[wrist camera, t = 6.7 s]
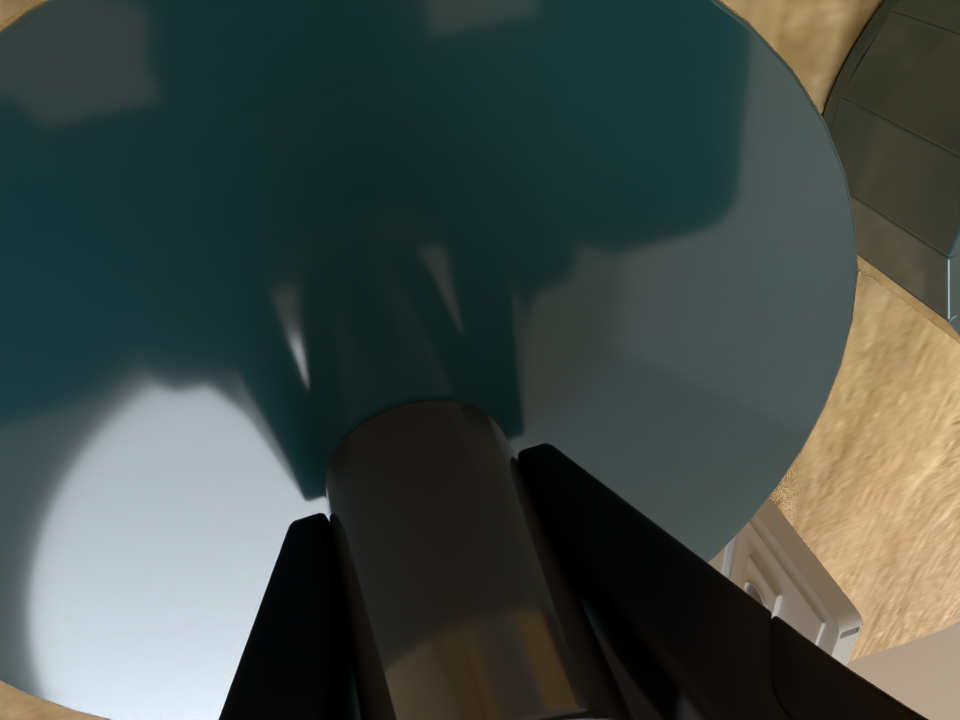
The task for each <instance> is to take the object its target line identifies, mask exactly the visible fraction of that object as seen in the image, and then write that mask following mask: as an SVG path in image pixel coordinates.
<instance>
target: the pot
mask: <svg viewBox="0 0 960 720" xmlns="http://www.w3.org/2000/svg"><path fill="white" fill-rule="evenodd" d="M823 119H824V121H825V123H826V126H827V128H828V131H829V133H830V136H831V138H832V141H833V144H834V146H835V149H836V151H837V154H838V156H839V159H840V161H841V164H842V166H843V169H844V171H845V174H846V179H847V184H848V189H849V194H850V199H851V203H852V208H853V213H854V218H855V223H856V244H857V266H858V267H859V268H861V269H862V270H863V271H865V272H866V273H867V274H869V275H870V276H871V277H873V278H874V279H875V280H877V281H878V282H879V283H880V284H882V285H883V286H884V287H886V288H887V289H888V290H890V291H891V292H892V293H894V294H895V295H896V296H898V297H899V298H900V299H902V300H903V301H904V302H906V303H907V304H908V305H909V306H911V307H912V308H913V309H915V310H916V311H917V312H919V313H920V314H921V315H923V316H924V317H925V318H927V319H928V320H929V321H931V322H932V323H933V324H935V325H936V326H937V327H938V328H940V329H941V330H942V331H944V332H945V333H946V334H948V335H949V336H950V337H952V338H953V339H954V340H956V341H957V342H958V343H960V0H885V1H884V3H883V4H882V5H881V7H880V8H879V9H878V11H877V12H876V13H875V15H874V16H873V17H872V19H871V20H870V21H869V23H868V25H867V26H866V28H865V29H864V31H863V33H862V34H861V36H860V37H859V39H858V41H857V42H856V44H855V45H854V47H853V48H852V50H851V52H850V54H849V56H848V58H847V60H846V62H845V64H844V66H843V68H842V70H841V72H840V73H839V75H838V77H837V80H836V82H835V85H834V87H833V90H832V92H831V94H830V97H829V99H828V102H827V104H826V108H825V111H824V114H823Z"/></svg>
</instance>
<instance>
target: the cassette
mask: <svg viewBox="0 0 960 720" xmlns="http://www.w3.org/2000/svg"><path fill="white" fill-rule="evenodd" d="M708 564H710V565H711V566H712V567H714V568H715V569H716V570H717V571H719V572H720V573H721V574H723V575H724V576H725V577H727V578H728V579H729V580H731V581H732V582H733V583H735V584H736V585H737V586H739V587H740V588H741V589H742V590H744V591H745V592H746V593H748V594H749V595H750V596H752V597H753V598H754V599H756V600H757V601H758V602H760V603H761V604H762V605H764V606H765V607H766V608H767V609H769V610H770V611H771V613H772V618H773V617H774V616H778V617H780V618H781V619H782V620H784V621H785V622H786V623H788V624H789V625H790V626H792V627H793V628H794V629H795V630H797V631H798V632H799V633H801V634H802V635H803V636H805V637H806V638H807V639H809V640H810V641H811V642H813V643H814V644H816V645H817V646H818V647H820V648H821V649H822V650H824V651H825V652H827V653H828V654H829V655H831V656H832V657H834V658H835V659H836V660H838V661H839V662H841V663H842V664H843V665H845V666H846V665H847V663H848V660H849V658H850V655H851V653H852V650H853V648H854V645H855V643H856V640H857V638H858V635H859V633H860V631H861V628H862V626H863V620H862V617H861V615H860V614H859V612H858V611H857V609H856V608H855V607H854V605H853V604H852V603H851V601H850V600H849V599H848V598H847V596H846V595H845V594H844V592H843V591H842V590H841V589H840V587H839V586H838V585H837V583H836V582H835V581H834V580H833V578H832V577H831V576H830V574H829V573H828V572H827V571H826V569H825V568H824V567H823V565H822V564H821V563H820V562H819V560H818V559H817V558H816V556H815V555H814V554H813V553H812V551H811V550H810V549H809V547H808V546H807V545H806V544H805V542H804V541H803V540H802V538H801V537H800V536H799V535H798V533H797V532H796V531H795V529H794V528H793V527H792V525H791V524H790V523H789V522H788V520H787V519H786V518H785V516H784V515H783V514H782V513H781V511H780V510H779V509H778V507H777V506H776V505H775V504H774V502H773V501H772V500H771V498H770V497H769V498H768V499H767V500H766V502H765V503H764V504H763V505H762V507H761V508H760V509H759V510H758V511H757V513H756V514H755V515H754V516H753V518H752V519H751V520H750V521H749V522H748V523H747V524H746V525H745V526H744V527H743V528H742V530H741V531H740V532H739V533H738V534H737V535H736V536H735V537H734V538H733V539H732V540H731V541H730V542H729V543H728V544H727V545H726V546H725V547H724V548H723V549H722V551H721V552H719V553H718V554H717V555H716V556H715V557H714V558H713V559H712V560H710V561H709V562H708Z"/></svg>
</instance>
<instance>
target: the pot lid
mask: <svg viewBox="0 0 960 720" xmlns="http://www.w3.org/2000/svg"><path fill="white" fill-rule="evenodd" d="M857 274H858V270H857V244H856V223H855V218H854V213H853V208H852V203H851V199H850V194H849V189H848V184H847V179H846V174H845V171H844V169H843V166H842V164H841V161H840V159H839V156H838V154H837V151H836V149H835V146H834V144H833V141H832V138H831V136H830V133H829V131H828V128H827V126H826V123H825V121H824V119H823V117H822V116H821V114H820V112H819V111H818V109H817V108H816V106H815V104H814V103H813V101H812V100H811V98H810V97H809V95H808V93H807V92H806V90H805V89H804V87H803V85H802V84H801V82H800V81H799V79H798V77H797V76H796V74H795V73H794V71H793V70H792V68H791V67H790V66H789V65H788V64H787V63H786V62H785V61H784V60H783V58H782V57H781V56H780V55H779V54H778V53H777V52H776V51H775V50H774V49H773V48H772V47H771V45H770V44H769V43H768V42H767V41H766V40H765V39H764V38H763V37H762V36H761V35H760V34H759V33H758V31H757V30H756V29H755V28H754V27H753V26H752V25H751V24H750V23H749V22H748V21H747V20H746V19H745V18H743V17H742V16H741V15H739V14H738V13H737V12H735V11H734V10H733V9H731V8H730V7H729V6H727V5H726V4H725V3H723V2H722V1H721V0H33V1H32V2H31V3H29V4H28V5H27V6H25V7H24V8H23V9H21V10H20V11H19V12H17V13H16V14H15V15H14V16H12V17H11V18H10V19H8V20H7V21H6V22H4V23H3V24H2V25H1V26H0V681H1V682H3V683H5V684H7V685H9V686H11V687H13V688H15V689H17V690H19V691H21V692H24V693H26V694H29V695H32V696H34V697H37V698H40V699H43V700H45V701H48V702H51V703H54V704H56V705H59V706H62V707H65V708H67V709H70V710H73V711H77V712H81V713H85V714H89V715H93V716H97V717H101V718H105V719H108V720H219V717H220V714H221V711H222V709H223V706H224V703H225V700H226V698H227V695H228V692H229V689H230V687H231V684H232V681H233V678H234V676H235V673H236V670H237V667H238V665H239V662H240V659H241V656H242V654H243V651H244V648H245V645H246V643H247V640H248V637H249V635H250V632H251V629H252V626H253V624H254V621H255V618H256V615H257V613H258V610H259V607H260V604H261V602H262V599H263V596H264V593H265V591H266V588H267V585H268V582H269V580H270V577H271V574H272V571H273V569H274V566H275V563H276V561H277V558H278V555H279V552H280V550H281V547H282V544H283V541H284V539H285V536H286V533H287V530H288V528H289V526H290V524H291V523H292V522H293V521H295V520H298V519H301V518H304V517H307V516H311V515H314V514H317V513H323V514H325V515H326V516H327V518H328V520H329V522H330V528H331V534H332V540H333V547H334V553H335V559H336V566H337V572H338V578H339V585H340V591H341V597H342V604H343V610H344V616H345V622H346V629H347V635H348V641H349V648H350V654H351V660H352V667H353V673H354V679H355V686H356V692H357V698H358V705H359V711H360V717H361V720H634V718H633V716H632V714H631V711H630V709H629V707H628V705H627V703H626V700H625V698H624V696H623V694H622V691H621V689H620V687H619V685H618V682H617V680H616V678H615V676H614V674H613V671H612V669H611V667H610V665H609V662H608V660H607V658H606V656H605V654H604V651H603V649H602V647H601V645H600V642H599V640H598V638H597V636H596V633H595V631H594V629H593V627H592V625H591V622H590V620H589V618H588V616H587V613H586V611H585V609H584V607H583V604H582V602H581V600H580V598H579V596H578V593H577V591H576V589H575V587H574V584H573V582H572V580H571V578H570V576H569V573H568V571H567V569H566V567H565V564H564V562H563V560H562V558H561V555H560V553H559V551H558V549H557V547H556V545H555V542H554V540H553V538H552V536H551V534H550V531H549V529H548V527H547V525H546V522H545V520H544V518H543V516H542V514H541V511H540V509H539V507H538V505H537V502H536V500H535V498H534V496H533V493H532V491H531V489H530V487H529V485H528V482H527V480H526V478H525V476H524V473H523V471H522V469H521V467H520V465H519V462H518V453H519V452H520V451H521V450H524V449H527V448H530V447H533V446H536V445H540V444H543V443H548V444H551V445H553V446H554V447H556V448H557V449H558V450H560V451H561V452H562V453H563V454H565V455H566V456H567V457H569V458H570V459H571V460H573V461H574V462H575V463H577V464H578V465H579V466H581V467H582V468H583V469H585V470H586V471H587V472H588V473H590V474H591V475H592V476H594V477H595V478H596V479H598V480H599V481H600V482H602V483H603V484H604V485H606V486H607V487H608V488H610V489H611V490H612V491H613V492H615V493H616V494H617V495H619V496H620V497H621V498H623V499H624V500H625V501H627V502H628V503H629V504H631V505H632V506H633V507H635V508H636V509H637V510H638V511H640V512H641V513H642V514H644V515H645V516H646V517H648V518H649V519H650V520H652V521H653V522H654V523H656V524H657V525H658V526H660V527H661V528H662V529H664V530H665V531H666V532H667V533H669V534H670V535H671V536H673V537H674V538H675V539H677V540H678V541H679V542H681V543H682V544H683V545H685V546H686V547H687V548H689V549H690V550H691V551H692V552H694V553H695V554H696V555H698V556H699V557H700V558H702V559H703V560H704V561H706V562H707V563H708V562H709V561H710V560H712V559H713V558H714V557H715V556H716V555H717V554H718V553H719V552H721V551H722V549H723V548H724V547H725V546H726V545H727V544H728V543H729V542H730V541H731V540H732V539H733V538H734V537H735V536H736V535H737V534H738V533H739V532H740V531H741V530H742V528H743V527H744V526H745V525H746V524H747V523H748V522H749V521H750V520H751V519H752V518H753V516H754V515H755V514H756V513H757V511H758V510H759V509H760V508H761V507H762V505H763V504H764V503H765V502H766V500H767V499H768V498H769V497H770V495H771V494H772V493H773V492H774V490H775V489H776V488H777V487H778V485H779V484H780V482H781V481H782V479H783V478H784V476H785V475H786V473H787V472H788V470H789V469H790V467H791V466H792V464H793V463H794V461H795V460H796V458H797V457H798V455H799V454H800V452H801V451H802V449H803V448H804V446H805V444H806V442H807V440H808V438H809V436H810V434H811V432H812V430H813V429H814V427H815V425H816V423H817V421H818V419H819V417H820V415H821V413H822V411H823V410H824V407H825V405H826V402H827V400H828V397H829V395H830V392H831V390H832V387H833V384H834V382H835V379H836V377H837V374H838V372H839V369H840V366H841V363H842V359H843V355H844V351H845V347H846V343H847V339H848V335H849V332H850V328H851V324H852V319H853V310H854V301H855V292H856V283H857Z"/></svg>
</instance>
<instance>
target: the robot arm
mask: <svg viewBox="0 0 960 720" xmlns="http://www.w3.org/2000/svg"><path fill="white" fill-rule="evenodd" d="M518 462H519V465H520V467H521V469H522V471H523V473H524V476H525V478H526V480H527V482H528V485H529V487H530V489H531V491H532V493H533V496H534V498H535V500H536V502H537V505H538V507H539V509H540V511H541V514H542V516H543V518H544V520H545V522H546V525H547V527H548V529H549V531H550V534H551V536H552V538H553V540H554V542H555V545H556V547H557V549H558V551H559V553H560V555H561V558H562V560H563V562H564V564H565V567H566V569H567V571H568V573H569V576H570V578H571V580H572V582H573V584H574V587H575V589H576V591H577V593H578V596H579V598H580V600H581V602H582V604H583V607H584V609H585V611H586V613H587V616H588V618H589V620H590V622H591V625H592V627H593V629H594V631H595V633H596V636H597V638H598V640H599V642H600V645H601V647H602V649H603V651H604V654H605V656H606V658H607V660H608V662H609V665H610V667H611V669H612V671H613V674H614V676H615V678H616V680H617V682H618V685H619V687H620V689H621V691H622V694H623V696H624V698H625V700H626V703H627V705H628V707H629V709H630V711H631V714H632V716H633V718H634V720H928V719H927V718H925V717H923V716H922V715H920V714H919V713H917V712H915V711H914V710H912V709H910V708H909V707H907V706H905V705H904V704H902V703H901V702H899V701H898V700H896V699H895V698H893V697H892V696H890V695H889V694H887V693H886V692H884V691H882V690H881V689H879V688H878V687H876V686H875V685H873V684H872V683H870V682H868V681H867V680H865V679H864V678H862V677H861V676H859V675H858V674H856V673H855V672H853V671H851V670H850V669H849V668H847V667H846V666H845V665H843V664H842V663H841V662H839V661H838V660H836V659H835V658H834V657H832V656H831V655H829V654H828V653H827V652H825V651H824V650H822V649H821V648H820V647H818V646H817V645H816V644H814V643H813V642H811V641H810V640H809V639H807V638H806V637H805V636H803V635H802V634H801V633H799V632H798V631H797V630H795V629H794V628H793V627H792V626H790V625H789V624H788V623H786V622H785V621H784V620H782V619H781V618H780V617H778V616H774V617H773V618H772V613H771V611H770V610H769V609H767V608H766V607H765V606H764V605H762V604H761V603H760V602H758V601H757V600H756V599H754V598H753V597H752V596H750V595H749V594H748V593H746V592H745V591H744V590H742V589H741V588H740V587H739V586H737V585H736V584H735V583H733V582H732V581H731V580H729V579H728V578H727V577H725V576H724V575H723V574H721V573H720V572H719V571H717V570H716V569H715V568H714V567H712V566H711V565H710V564H708V563H707V562H706V561H704V560H703V559H702V558H700V557H699V556H698V555H696V554H695V553H694V552H692V551H691V550H690V549H689V548H687V547H686V546H685V545H683V544H682V543H681V542H679V541H678V540H677V539H675V538H674V537H673V536H671V535H670V534H669V533H667V532H666V531H665V530H664V529H662V528H661V527H660V526H658V525H657V524H656V523H654V522H653V521H652V520H650V519H649V518H648V517H646V516H645V515H644V514H642V513H641V512H640V511H638V510H637V509H636V508H635V507H633V506H632V505H631V504H629V503H628V502H627V501H625V500H624V499H623V498H621V497H620V496H619V495H617V494H616V493H615V492H613V491H612V490H611V489H610V488H608V487H607V486H606V485H604V484H603V483H602V482H600V481H599V480H598V479H596V478H595V477H594V476H592V475H591V474H590V473H588V472H587V471H586V470H585V469H583V468H582V467H581V466H579V465H578V464H577V463H575V462H574V461H573V460H571V459H570V458H569V457H567V456H566V455H565V454H563V453H562V452H561V451H560V450H558V449H557V448H556V447H554V446H553V445H551V444H548V443H543V444H540V445H536V446H533V447H530V448H527V449H524V450H521V451H520V452H519V453H518ZM219 720H361V717H360V711H359V705H358V698H357V692H356V686H355V679H354V673H353V667H352V660H351V654H350V648H349V641H348V635H347V629H346V622H345V616H344V610H343V604H342V597H341V591H340V585H339V578H338V572H337V566H336V559H335V553H334V547H333V540H332V534H331V528H330V522H329V520H328V518H327V516H326V515H325V514H323V513H317V514H314V515H311V516H307V517H304V518H301V519H298V520H295V521H293V522H292V523H291V524H290V526H289V528H288V530H287V533H286V536H285V539H284V541H283V544H282V547H281V550H280V552H279V555H278V558H277V561H276V563H275V566H274V569H273V571H272V574H271V577H270V580H269V582H268V585H267V588H266V591H265V593H264V596H263V599H262V602H261V604H260V607H259V610H258V613H257V615H256V618H255V621H254V624H253V626H252V629H251V632H250V635H249V637H248V640H247V643H246V645H245V648H244V651H243V654H242V656H241V659H240V662H239V665H238V667H237V670H236V673H235V676H234V678H233V681H232V684H231V687H230V689H229V692H228V695H227V698H226V700H225V703H224V706H223V709H222V711H221V714H220V717H219Z"/></svg>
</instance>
